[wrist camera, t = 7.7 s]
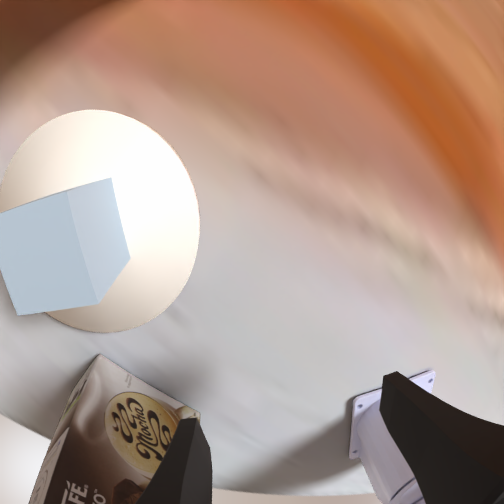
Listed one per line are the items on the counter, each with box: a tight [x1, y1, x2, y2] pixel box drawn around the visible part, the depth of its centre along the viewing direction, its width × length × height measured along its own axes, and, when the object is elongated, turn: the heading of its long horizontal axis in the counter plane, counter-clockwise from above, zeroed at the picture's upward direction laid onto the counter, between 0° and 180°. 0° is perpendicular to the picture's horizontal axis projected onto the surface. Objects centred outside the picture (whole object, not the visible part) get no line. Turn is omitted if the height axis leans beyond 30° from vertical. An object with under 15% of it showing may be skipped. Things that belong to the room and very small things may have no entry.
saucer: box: [0, 110, 200, 333], centre depth 16 cm, size 13×13×1 cm
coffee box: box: [29, 354, 200, 504], centre depth 14 cm, size 9×6×16 cm
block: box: [0, 177, 131, 316], centre depth 13 cm, size 4×4×6 cm
